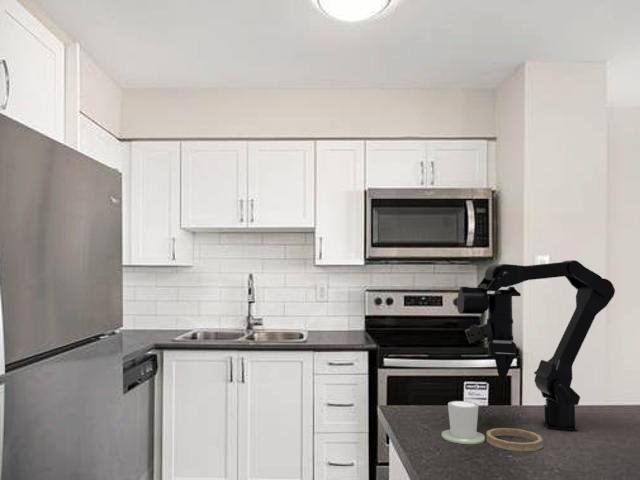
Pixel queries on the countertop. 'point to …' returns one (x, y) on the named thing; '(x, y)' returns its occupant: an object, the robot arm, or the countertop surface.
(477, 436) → the pale green round disc
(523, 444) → the collar
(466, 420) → the shot glass
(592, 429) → the countertop surface
